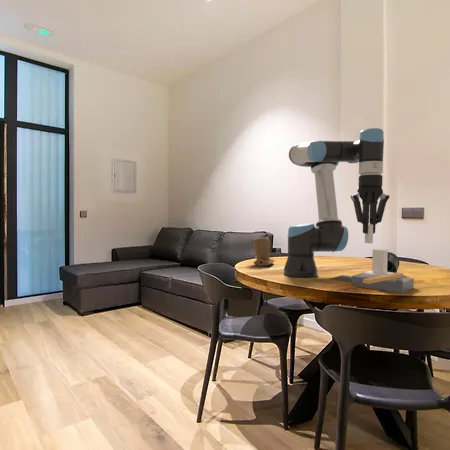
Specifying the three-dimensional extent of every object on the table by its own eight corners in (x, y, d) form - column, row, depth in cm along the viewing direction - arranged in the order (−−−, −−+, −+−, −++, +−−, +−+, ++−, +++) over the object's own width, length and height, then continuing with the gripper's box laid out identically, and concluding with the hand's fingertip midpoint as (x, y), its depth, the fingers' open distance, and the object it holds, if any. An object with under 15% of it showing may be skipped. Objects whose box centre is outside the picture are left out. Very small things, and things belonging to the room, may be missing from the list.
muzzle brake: (370, 282, 130) (371, 257, 130) (376, 272, 155) (377, 250, 154) (397, 285, 126) (397, 259, 125) (399, 274, 150) (399, 252, 149)
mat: (330, 280, 135) (330, 278, 135) (342, 276, 143) (342, 275, 143) (355, 284, 127) (355, 282, 127) (367, 280, 135) (367, 278, 135)
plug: (362, 285, 122) (363, 249, 122) (372, 282, 128) (372, 247, 128) (387, 289, 116) (388, 251, 115) (396, 286, 122) (397, 249, 121)
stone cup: (256, 262, 184) (256, 236, 184) (276, 263, 180) (276, 236, 179) (247, 266, 170) (247, 238, 170) (269, 267, 166) (269, 238, 165)
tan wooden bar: (397, 275, 115) (397, 272, 115) (404, 276, 113) (404, 273, 113) (362, 282, 104) (362, 278, 104) (369, 283, 102) (369, 280, 102)
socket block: (351, 286, 124) (352, 272, 123) (364, 281, 132) (365, 268, 132) (402, 294, 111) (402, 279, 110) (413, 289, 119) (413, 274, 119)
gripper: (356, 173, 106) (355, 244, 107) (395, 174, 107) (392, 244, 108) (347, 175, 114) (345, 241, 115) (383, 176, 114) (381, 241, 115)
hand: (368, 242), depth 111 cm, fingers closed
